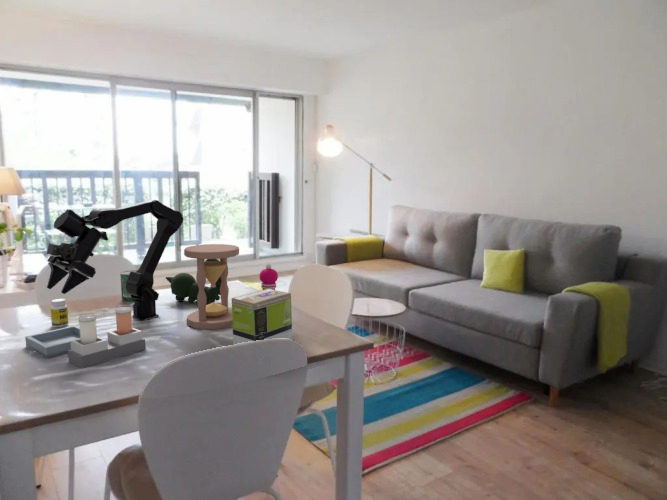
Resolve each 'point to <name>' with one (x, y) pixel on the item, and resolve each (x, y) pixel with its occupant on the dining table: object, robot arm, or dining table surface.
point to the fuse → (87, 329)
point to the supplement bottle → (59, 313)
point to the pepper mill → (268, 278)
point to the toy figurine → (192, 287)
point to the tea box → (262, 316)
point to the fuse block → (106, 348)
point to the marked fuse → (123, 320)
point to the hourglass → (212, 270)
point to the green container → (125, 295)
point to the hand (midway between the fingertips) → (55, 290)
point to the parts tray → (53, 341)
